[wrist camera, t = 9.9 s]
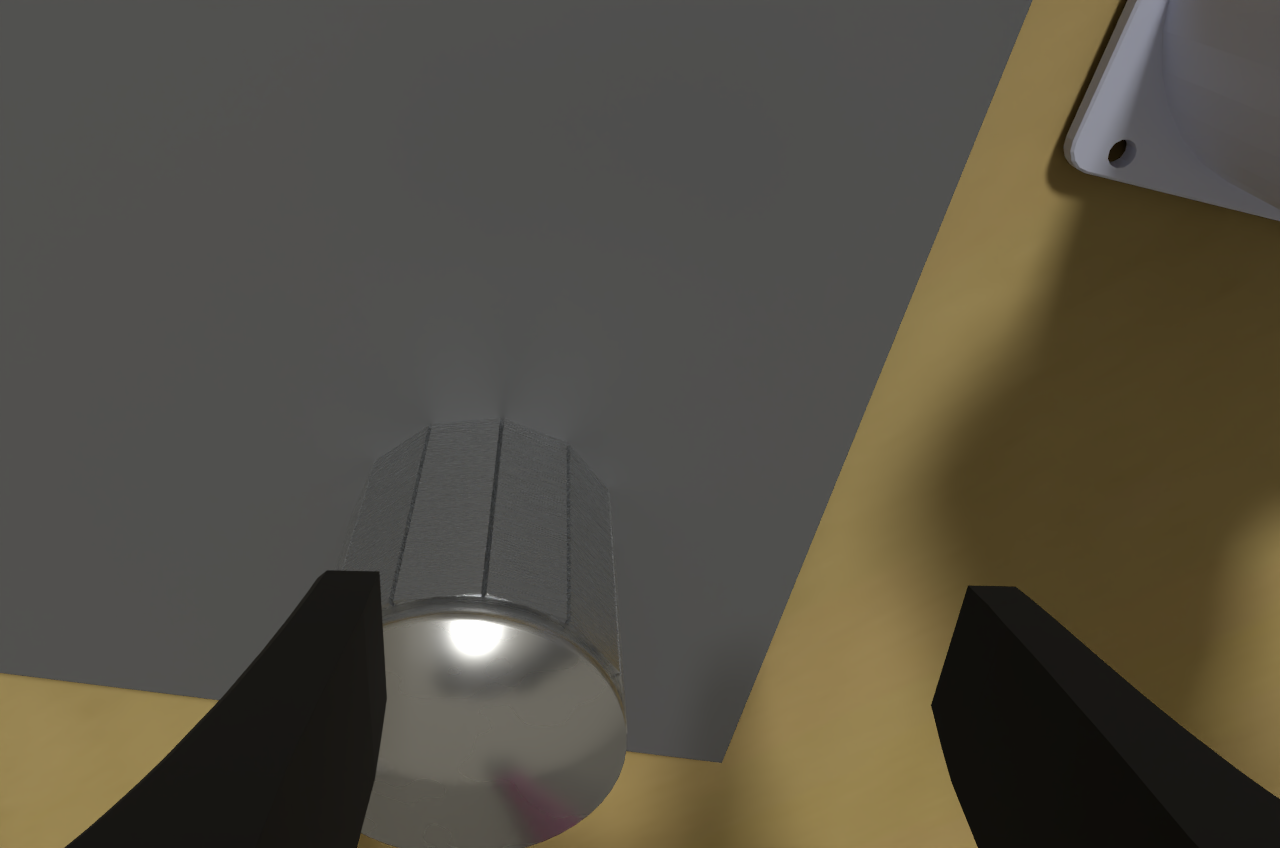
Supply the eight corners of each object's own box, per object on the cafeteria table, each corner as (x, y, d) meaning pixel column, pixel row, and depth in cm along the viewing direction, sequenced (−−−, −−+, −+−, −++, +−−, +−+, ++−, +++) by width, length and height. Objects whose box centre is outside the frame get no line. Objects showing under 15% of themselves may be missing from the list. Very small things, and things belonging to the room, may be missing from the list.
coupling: (600, 408, 20) (612, 605, 15) (621, 614, 23) (637, 839, 18) (331, 433, 20) (252, 639, 15) (383, 636, 23) (332, 870, 18)
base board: (1045, -98, 17) (1070, -94, 16) (716, 732, 27) (721, 762, 26) (-294, -495, 14) (-351, -517, 13) (-122, 623, 23) (-148, 654, 22)
